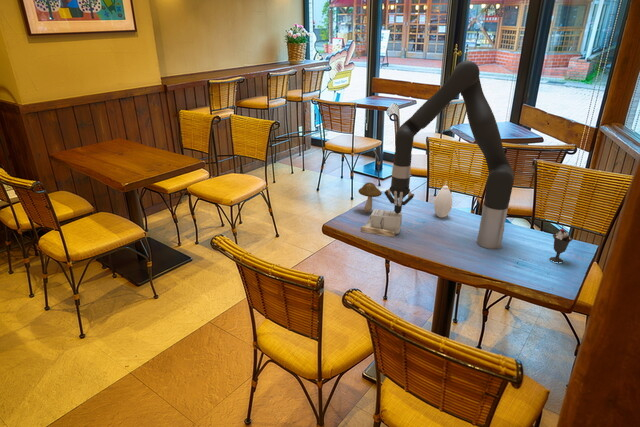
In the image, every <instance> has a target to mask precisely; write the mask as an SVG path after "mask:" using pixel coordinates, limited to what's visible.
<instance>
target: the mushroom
mask: <svg viewBox="0 0 640 427" xmlns="http://www.w3.org/2000/svg"><path fill="white" fill-rule="evenodd" d="M358 194H359V195H361V196H364V197H367V200H366V203H365V205H364V208H363V210H364V213H371V211H372V210H373V198H376V197H380V196H381V195H382V194H383V193H382V191H381V190H380V189H379V188H377V186H376V185H375V184H374V183H373V182H366V183H364V184H363V185H362V187H360V188H359V189H358Z"/></svg>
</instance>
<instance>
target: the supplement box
mask: <svg viewBox="0 0 640 427" xmlns="http://www.w3.org/2000/svg"><path fill="white" fill-rule="evenodd" d="M372 210H373V211H372V212H371V214H370V215H371V224H370V227H372V228H378V229H383V230H389V231H394V232H395V233H396V234H400V230H401V226H402V221H401V220H402V217H403V212H402V211H401V212H400V213H399V214H397V213H395V212H394V210H393V211H392V210H385V209H377V208H374V209H372Z"/></svg>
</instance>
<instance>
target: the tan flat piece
mask: <svg viewBox="0 0 640 427" xmlns="http://www.w3.org/2000/svg"><path fill="white" fill-rule="evenodd" d="M401 222H403V221H402V219H401ZM370 224H371V214H370V215H369V219H368V221H367V222H366V223H365V225H361V227H360V228H361V229H360V232H362V233H366V234H370V235H372V234H373V235H377V236H383V237H386V238H387V237H388V238H395V236H396V234H397V233H395V232H394V231H389V230H383V229H378V228H372V227H370Z"/></svg>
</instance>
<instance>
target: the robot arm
mask: <svg viewBox="0 0 640 427" xmlns="http://www.w3.org/2000/svg"><path fill="white" fill-rule="evenodd" d="M480 72H481V71H480V68H479V66H478V64H477V63H475V61H471V60H463V61H461V62H459V63H458V64H456V66H455V67H454V69H453V72H452V73H451V74H450V76H449V77H448V78H447V80H446V82H445V83H444V84H443V85H442V86H441V87H440V88H439V89H438V90H437V91H436V92H435V93H434V94H433V95H432V96H431V97H429V98H428V100H426V101H424V102H423V104H422V105H421V106H420V107H419V108H418V109H417V110H416V111H415V112H414V113H413V115H412V116H410V117H408V119H407V120H406V121H404V122H403V123H402V124H401V125H400V126H399V127H398V129H397V130H396V132H395V140H394V141H395V144H394V147H395V148H394V155H393V166H392V168H391V169H392V170H391V180H390V181H391V182H390V186H389V189H386V190H385V191H384V195H385V196H386V198H387V199H388V201H389V203H390V204H392V205H394V208H393V209H394V210H393V211H394V212H395V213H397V214H399V213H400V212H401V213H402V207H403V206H406V205H407V204H408V203H409V202H410V201H411V200H413V198H414V197H415V194H414V193H412V192H411V189H410V181H411V172H412V169H411V168H412V167H411V166H412V165H411V164H412V152H413V147H414V146H413V145H414V137H415V136H416V135H417V134H418V133H419V132H420V131H422V130H423V129H425V128H426V127H428V126H429V125H430V124H431V123H432V121H434V120H435V119H436V117H438V116H439V115H440V113H441V112H443V110H445V108H446V107H447V106H448V105H449V104H450V103H451V102H452V101H453V100H454V99H455V98H457V97H458V95H460V94H461V96H462V100H463V102H464V106H465V110H466V116H467V120H468V124H469V127H470V130H471V134H472V137H473V139H474V141H475V143H476V145H477V146H478V148H479V150H480V151H481V153H482V154H483V156H484V158H485V159H484V160H485V162H486V165H487V170H488V176H487V181H486V186H485V191H484V198H483V199H484V200H483V205H482V212H481V216H480V221H479V227H478V233H477V234H478V235H477V237H476V244H478V246H480V247H483V248H486V249H488V250H489V249H491V250H494V249H499V250H500V249H501V246H502V240H503V237H504V232H505V226H506V225H505V223H506V220H507V214H508V209H509V205H510V200H511V196H512V191H513V188H514V179H515V174H514V170H513V168H512V166H511V164H510V161H509V159H508V158H507V155H506V153H505V151H504V147H503V141H502V137H501V133H500V130H499V129H500V128H499V126H498V123H497V120H496V117H495V115H494V112H493V110H492V108H491V106H490V103H489V102H488V100H487V98H486V97H485V94H484V91H483V87H482V84H481V79H480V74H481V73H480ZM406 197H407V198H406ZM404 198H406V199H405V200H404Z"/></svg>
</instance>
